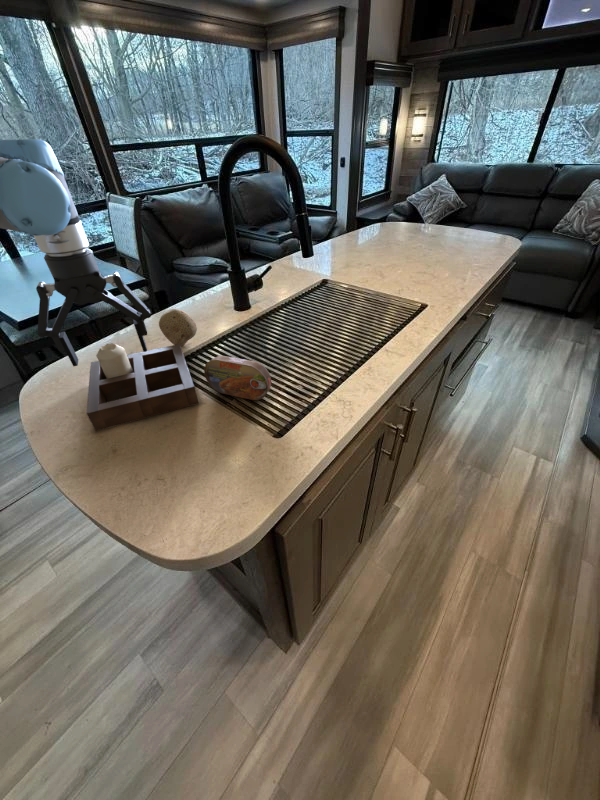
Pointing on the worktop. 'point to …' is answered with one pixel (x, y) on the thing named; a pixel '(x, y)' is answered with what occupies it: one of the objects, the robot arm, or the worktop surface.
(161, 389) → the rack
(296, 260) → the worktop surface
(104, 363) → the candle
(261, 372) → the tin
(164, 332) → the natural sponge
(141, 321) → the robot arm
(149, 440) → the worktop surface
